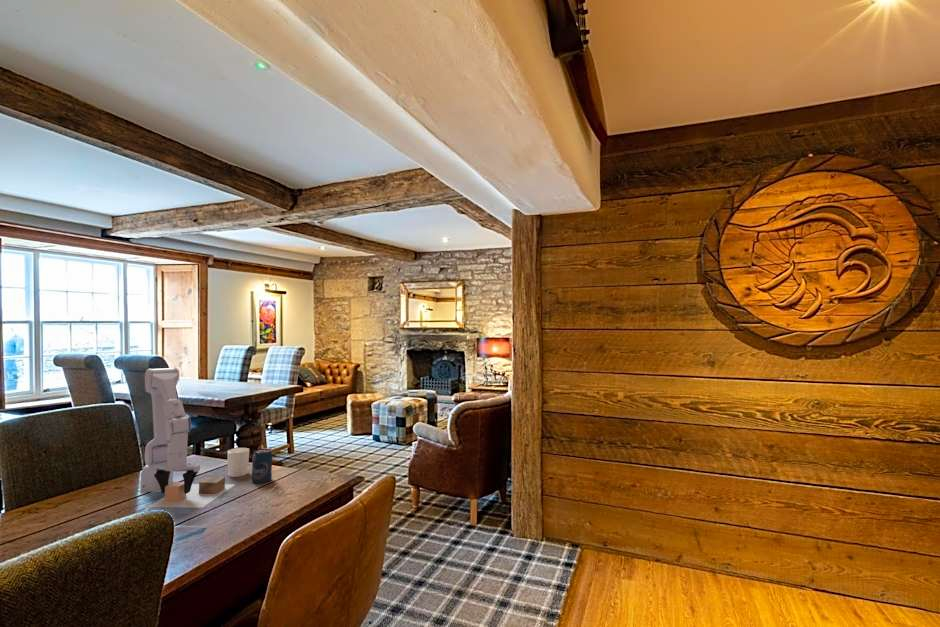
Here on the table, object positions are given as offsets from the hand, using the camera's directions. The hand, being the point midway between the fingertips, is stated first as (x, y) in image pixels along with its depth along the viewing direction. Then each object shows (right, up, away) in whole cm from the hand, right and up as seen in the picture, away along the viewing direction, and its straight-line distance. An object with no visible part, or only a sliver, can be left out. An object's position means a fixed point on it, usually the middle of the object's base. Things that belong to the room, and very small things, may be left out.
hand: (175, 492), depth 154 cm
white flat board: (+4, -3, +4) cm, 6 cm away
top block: (0, -2, 0) cm, 2 cm away
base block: (+8, -3, +8) cm, 12 cm away
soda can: (+20, -4, +20) cm, 28 cm away
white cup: (+7, -4, +27) cm, 28 cm away
